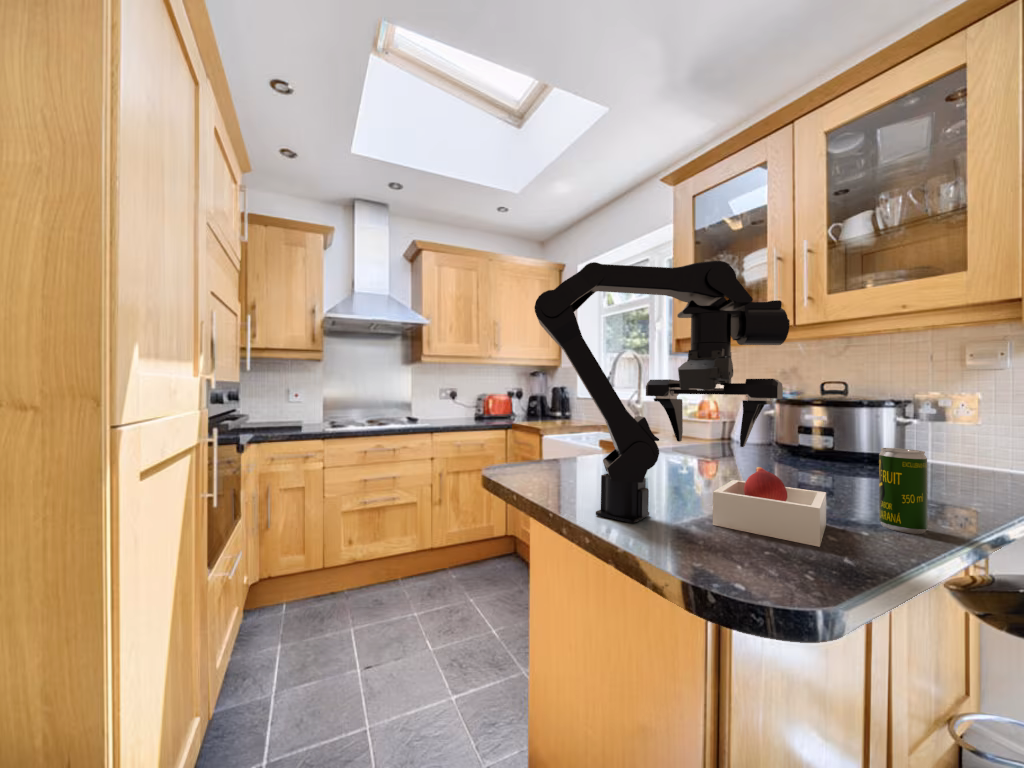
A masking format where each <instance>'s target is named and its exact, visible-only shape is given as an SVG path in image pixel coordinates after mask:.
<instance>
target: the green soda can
mask: <svg viewBox="0 0 1024 768" xmlns="http://www.w3.org/2000/svg"><path fill="white" fill-rule="evenodd" d="M880 450H881V451H880V452H879V454H878V464H879V465H878V467H879V468H878V472H879V473H878V479H879V480H878V485H879V486H878V491H879V493H878V494H879V495H878V497H879V499H878V503H879V504H878V505H879V507H878V508H879V509H878V510H879V512H878V514H879V515H878V516H879V522H880V524H881V526H882V527H883V528H886V529H888V530H892V531H896V532H899V533H907V534H915V535H918V534H919V535H920V534H925V533H926V531H928V527H929V526H928V523H929V522H928V520H929V519H928V517H929V516H928V458H927V456H926V451H924V450H918V449H912V448H911V449H910V448H909V449H908V448H898V447H897V448H896V447H881V448H880Z"/></svg>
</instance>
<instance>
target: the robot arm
mask: <svg viewBox="0 0 1024 768" xmlns="http://www.w3.org/2000/svg"><path fill="white" fill-rule="evenodd" d="M597 292H605V293H619V294H623V293H624V294H635V295H636V294H637V295H639V294H640V295H655V296H666V297H670V298H674V299H676V300H678V301H681V302H684V303H686V306H685V307H684V308H683V309H682V310H681V311H680V312H678V313H677V318H678V319H690V349H689V350H688V353H687V360H686V361H685V362H683V363H682V364H681V365H680V366H679V367H678V368H677V373H678V380H676V379H649V380H648V382H646V385H645V396H646V397H653V402H658V403H660V405H661V406H662V407H663V409H664V411H665V412H666V415H667V416H668V419H669V422H670V425H671V427H672V428H671V429H672V430H673V433H674V435H675V436H674V437H675V440H676V442H682V440H683V433H684V432H683V428H684V427H683V426H684V425H683V419H684V418H683V399H681V398H678V396H679V395H726V396H727V395H728V396H729V395H730V396H731V395H732V396H733V395H734V396H735V395H736V396H739V395H740V396H741V395H742V396H746V397H747V400H745V399H743V400H742V417H741V426H740V433H739V447H740V448H744V447H745V446H746V444H747V442H748V439H749V436H750V435H751V433H752V432H751V431H752V430H753V428H754V424H755V423H756V421H757V418H758V417H759V415H760V414H761V412H762V411H763V409H764V407H765V406H766V405H773V400H771V399H777V400H778V399H780V400H783V399H784V395H783V394H784V393H783V392H784V388H783V387H784V386H783V383H782V382H781V381H780V380H779V379H775V378H745V382H744V383H743V382H740V383H739V382H733V383H732V378H733V377H734V364H733V358H732V352H731V351H732V349H731V348H732V346H731V343H732V341H736V342H737V344H738V345H740V346H780V345H782V344H784V343H785V341H786V340H787V338H788V335H789V331H790V324H791V323H790V321H791V320H790V319H789V318H788V314H787V312H786V310H785V309H784V308H782V301H781V300H770V301H754V299H753V297H752V296H751V294H750V293H749V292H748V291H747V290H746V288H745V287H744V286H743V285H742V283H741V282H740V281H739V279H737V274H736V270H734V268H733V267H732V266H731V264H730V263H728V262H726V261H724V260H710V261H709V260H707V261H702V262H700V261H699V262H694V263H690V264H686V265H683V266H675V267H665V266H664V267H663V266H661V267H660V266H648V265H647V266H645V265H628V264H627V265H625V264H624V265H623V264H603V263H599V262H596V261H595V262H589V263H587V264H586V265H584V266H583V267H582V268H581V269H580V270H579V271H577V272H576V273H575V274H574V275H572V276H569V278H566V279H565V280H563V282H561V283H560V284H559V285H558V286H556V287H555V288H554V289H549V290H546V291H543V292H542V293H541V294H540V295H538V297H537V299H535V304H534V307H533V308H534V313H535V315H536V318H537V321H538V323H539V325H540V326H541V327H542V328H543V330H544V331H545V332H546V333H547V334H548V335H549V337H550V338H551V339H552V340H553V342H555V343H556V344H557V345H558V346H559V347H560V349H561V350H562V351H563V352H564V354H565V355H566V357H567V358H568V360H569V363H570V364H571V365H572V368H573V369H574V370H575V373H576V374H577V375H578V377H579V379H580V381H581V382H582V384H583V385H584V387H585V389H586V391H587V392H588V394H589V395H590V398H591V400H592V401H593V402H594V404H595V407H597V409H598V411H599V413H600V415H601V416H602V417H603V419H604V422H605V424H606V427H607V430H608V434H609V436H610V439H611V441H612V444H613V446H614V449H613V450H612V451H611V452H609V453H608V455H606V456H605V457H604V458H603V459H602V463H603V467H604V468H605V471H606V473H603V474H601V476H600V509H598V510H595V515H596V516H599V517H603V518H606V519H607V518H608V519H611V520H617V521H620V522H626V523H630V524H635V523H637V522H639V521H641V520H643V519H644V518H647V517H649V516H650V511H649V497H650V496H649V495H650V494H649V491H650V490H649V488H648V487H646V485H647V478H646V476H647V472H648V470H650V469H652V468H653V467H654V466H655V465H656V464H657V463H658V460H659V456H660V448H659V446H658V444H657V442H659V441H660V438H659V437H657V436H656V435H655V434H654V432H653V431H652V429H651V427H650V425H649V422H648V421H647V418H646V416H641V415H637V416H635V417H633V416H632V415H631V413H630V412H629V411H628V410H627V408H626V407H625V405H624V404H623V402H622V400H621V398H620V396H619V395H618V394H617V392H616V390H615V389H614V387H613V386H612V384H611V382H610V381H609V379H608V377H607V375H606V374H605V372H604V371H603V369H602V367H601V365H600V364H599V362H598V360H597V359H596V357H595V356H594V354H593V352H592V351H591V349H590V347H589V345H588V344H587V342H586V341H585V339H584V337H583V335H582V332H581V329H580V326H579V322H578V319H577V317H576V315H575V311H577V310H578V309H579V308H581V306H582V305H583V304H584V303H586V302H587V300H589V299H590V298H591V297H592V296H593V295H594V294H595V293H597ZM726 298H727V299H726ZM718 385H720V386H723V387H717V386H718ZM654 397H655V398H654Z"/></svg>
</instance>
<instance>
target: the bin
mask: <svg viewBox="0 0 1024 768" xmlns="http://www.w3.org/2000/svg"><path fill="white" fill-rule="evenodd" d="M746 481H747V480H746ZM746 481H745V480H737V479H732V480H731V481H729V482H726V483H725V484H724V485H722V486H720V487H719V488H717V489H715V490H714V491H713V492H712V525H713V526H716V527H722V528H726V529H732V530H736V531H741V532H746V533H752V534H756V535H760V536H765V537H771V538H776V539H780V540H784V541H785V540H786V541H790V542H795V543H800V544H804V545H808V546H812V547H813V546H815V547H819V548H820V547H821V545H822V541H823V538H824V537H823V536H824V533H825V530H826V527H827V492H825V491H820V490H812V489H811V490H810V489H803V488H795V487H789V486H785V488H786V490H787V500H786V502H785V501H779V500H772V499H766V498H760V497H753V496H747V495H745V493H744V485H745V483H746Z"/></svg>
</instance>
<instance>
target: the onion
mask: <svg viewBox="0 0 1024 768" xmlns="http://www.w3.org/2000/svg"><path fill="white" fill-rule="evenodd" d="M755 468H756V469H755V472H753V473H752V474H751V475H749V476H748V477H747V479H746V483H745V485H744V493H745V495H747V496H753V497H760V498H766V499H772V500H779V501H785V502H786V500H787V490H786V488H785V487H786V486H785V484H784V482H783V480H782V479H780V477H778V476H777V475H776V474H774V473H772V472H770V471H767V470H766V469H764V468H763V467H761V466H758V467H755Z"/></svg>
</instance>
